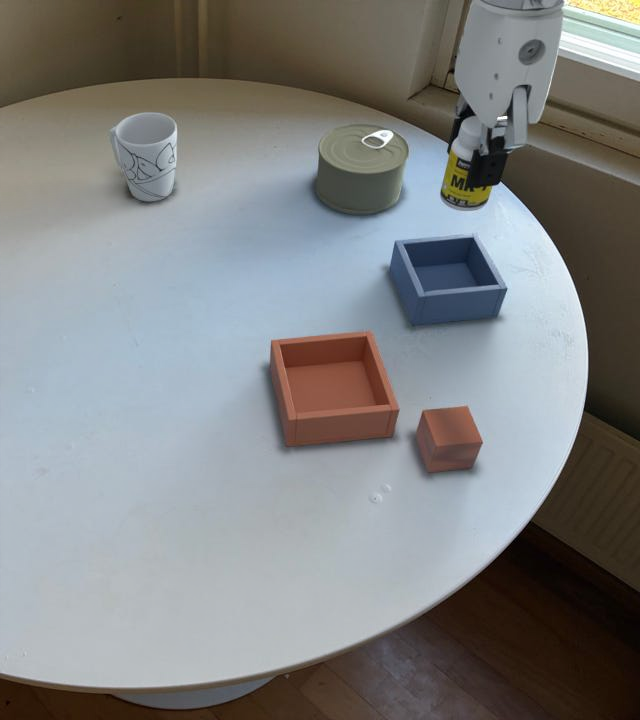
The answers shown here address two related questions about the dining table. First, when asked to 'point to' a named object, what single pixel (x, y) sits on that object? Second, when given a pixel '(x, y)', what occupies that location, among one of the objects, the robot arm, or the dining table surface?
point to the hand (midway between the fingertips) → (472, 167)
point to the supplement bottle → (465, 169)
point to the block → (448, 439)
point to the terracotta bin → (332, 388)
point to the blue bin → (447, 279)
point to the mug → (146, 154)
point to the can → (361, 168)
